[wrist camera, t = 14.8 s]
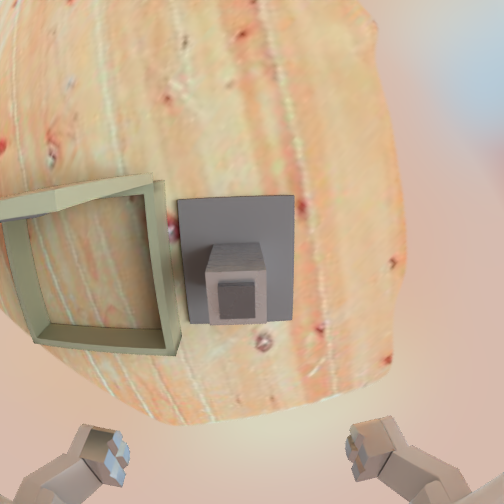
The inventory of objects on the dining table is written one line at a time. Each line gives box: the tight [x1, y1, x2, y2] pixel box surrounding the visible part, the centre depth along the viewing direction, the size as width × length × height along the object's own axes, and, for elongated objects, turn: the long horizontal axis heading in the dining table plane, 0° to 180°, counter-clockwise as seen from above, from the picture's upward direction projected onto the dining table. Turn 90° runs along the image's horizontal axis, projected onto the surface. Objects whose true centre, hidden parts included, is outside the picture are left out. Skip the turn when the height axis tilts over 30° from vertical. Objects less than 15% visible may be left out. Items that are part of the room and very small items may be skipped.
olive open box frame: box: [0, 173, 182, 356], centre depth 19 cm, size 18×16×16 cm
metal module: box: [205, 242, 267, 325], centre depth 23 cm, size 4×4×8 cm
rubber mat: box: [178, 195, 294, 324], centre depth 27 cm, size 10×12×1 cm
